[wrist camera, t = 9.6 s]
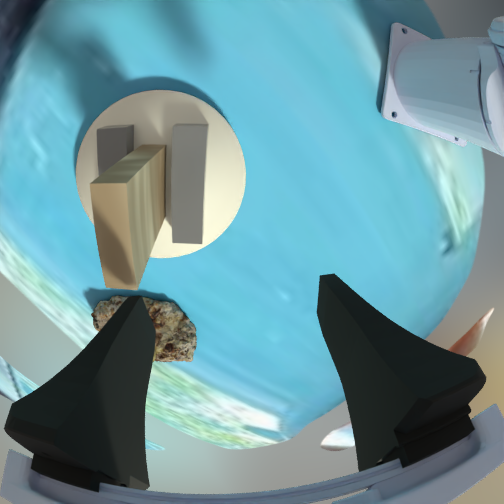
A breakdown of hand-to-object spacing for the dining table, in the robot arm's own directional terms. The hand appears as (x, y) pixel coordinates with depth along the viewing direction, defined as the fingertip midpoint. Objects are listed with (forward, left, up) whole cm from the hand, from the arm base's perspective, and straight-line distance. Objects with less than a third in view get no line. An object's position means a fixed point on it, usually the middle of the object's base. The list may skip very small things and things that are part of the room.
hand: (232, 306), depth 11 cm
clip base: (+5, -2, -10) cm, 12 cm away
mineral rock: (+7, +12, -11) cm, 18 cm away
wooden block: (+5, -2, -9) cm, 11 cm away
